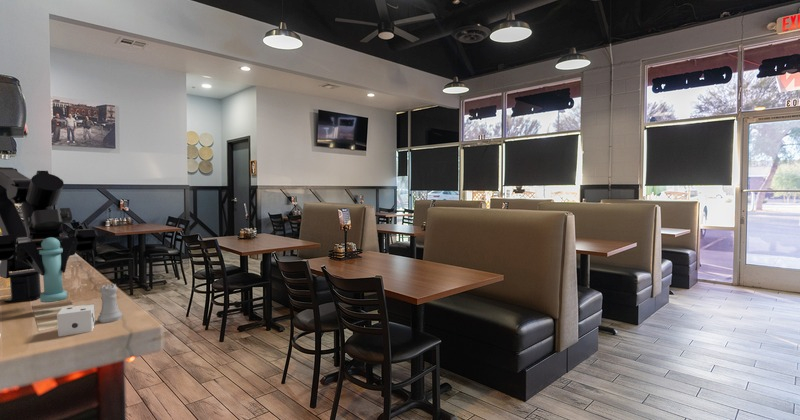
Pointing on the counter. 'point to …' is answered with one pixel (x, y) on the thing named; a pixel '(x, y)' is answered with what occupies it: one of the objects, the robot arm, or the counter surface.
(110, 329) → the counter surface
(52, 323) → the board
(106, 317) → the rook chess piece
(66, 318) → the die
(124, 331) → the counter surface
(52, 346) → the counter surface
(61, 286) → the pawn
